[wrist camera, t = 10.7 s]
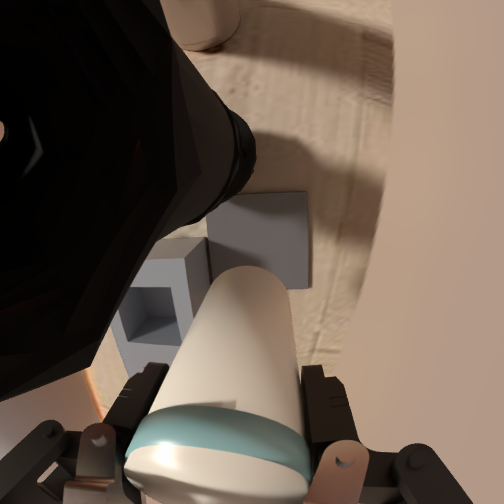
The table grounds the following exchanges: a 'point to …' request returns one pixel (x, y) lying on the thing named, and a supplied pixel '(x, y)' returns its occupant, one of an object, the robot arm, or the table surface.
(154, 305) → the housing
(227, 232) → the mat
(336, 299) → the table surface
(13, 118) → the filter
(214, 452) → the ball
